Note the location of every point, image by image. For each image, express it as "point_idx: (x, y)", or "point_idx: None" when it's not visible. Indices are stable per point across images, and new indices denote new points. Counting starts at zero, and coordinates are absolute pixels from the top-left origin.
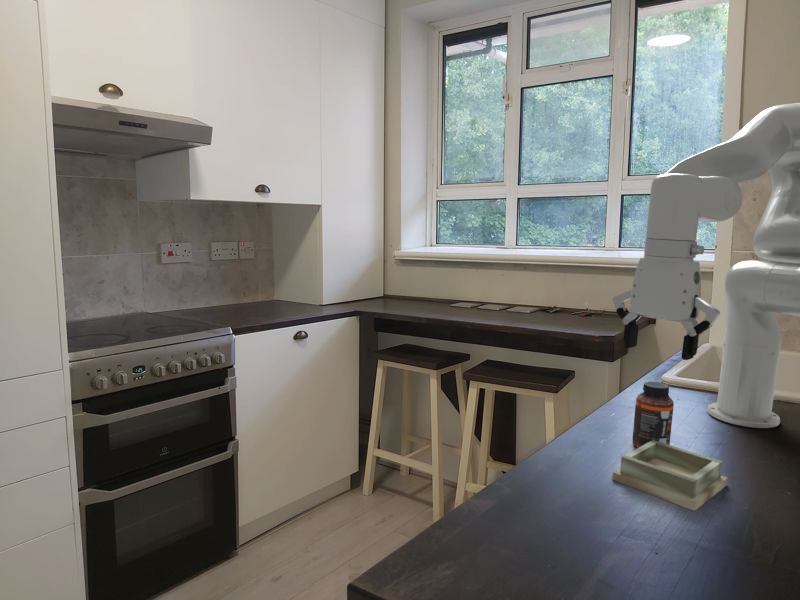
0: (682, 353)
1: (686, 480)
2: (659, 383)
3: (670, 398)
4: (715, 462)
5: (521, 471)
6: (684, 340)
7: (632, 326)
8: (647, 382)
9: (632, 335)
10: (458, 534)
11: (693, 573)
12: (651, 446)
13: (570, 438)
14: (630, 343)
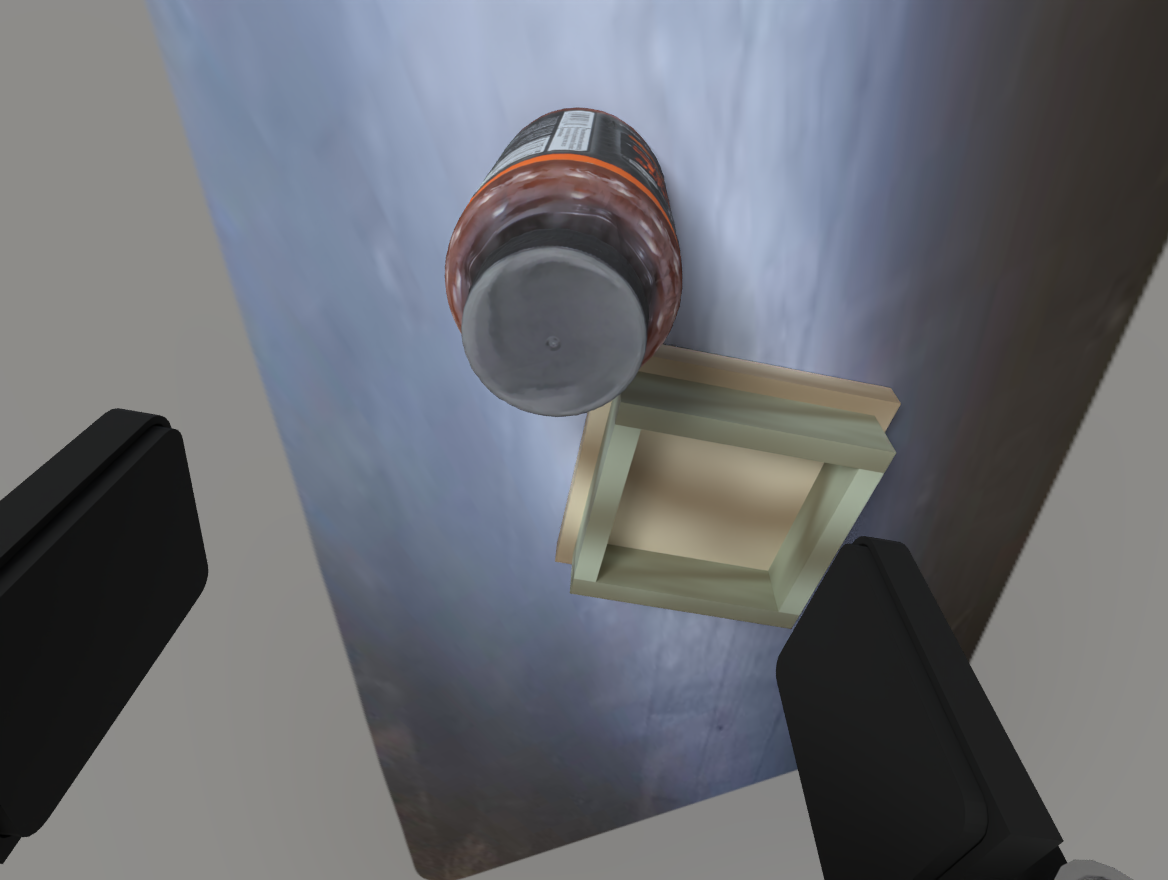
0: (789, 718)
1: (770, 623)
2: (565, 298)
3: (659, 273)
4: (867, 473)
5: (351, 616)
6: (834, 874)
7: (13, 812)
8: (482, 332)
9: (106, 652)
10: (432, 802)
11: (783, 743)
12: (630, 463)
13: (279, 326)
14: (177, 589)
